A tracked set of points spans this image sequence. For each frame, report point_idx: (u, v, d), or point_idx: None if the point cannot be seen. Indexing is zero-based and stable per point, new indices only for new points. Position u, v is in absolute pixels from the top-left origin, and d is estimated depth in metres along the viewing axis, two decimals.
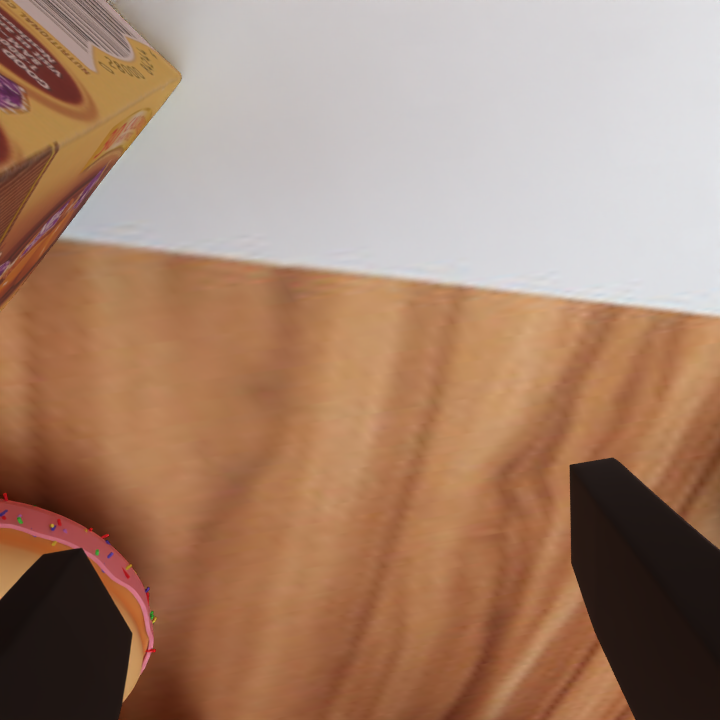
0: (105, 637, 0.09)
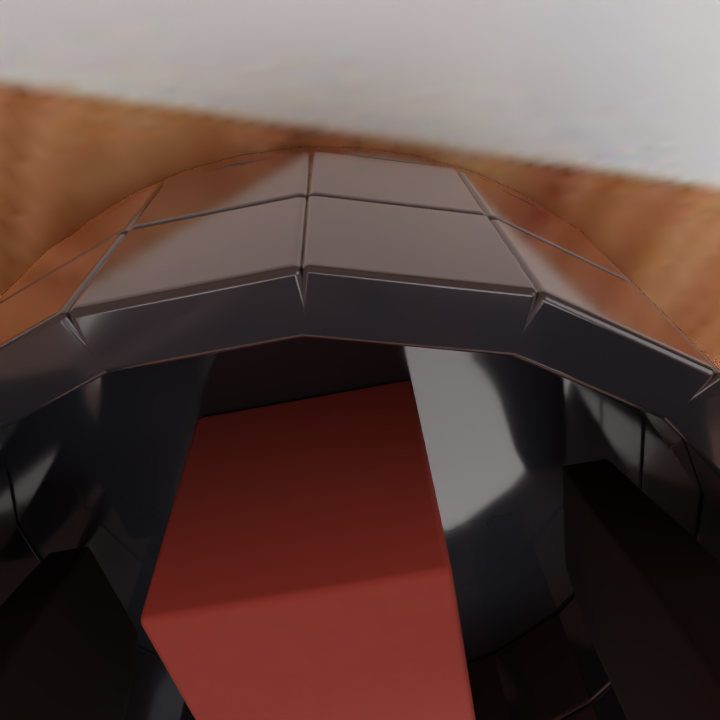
0: (112, 636, 0.09)
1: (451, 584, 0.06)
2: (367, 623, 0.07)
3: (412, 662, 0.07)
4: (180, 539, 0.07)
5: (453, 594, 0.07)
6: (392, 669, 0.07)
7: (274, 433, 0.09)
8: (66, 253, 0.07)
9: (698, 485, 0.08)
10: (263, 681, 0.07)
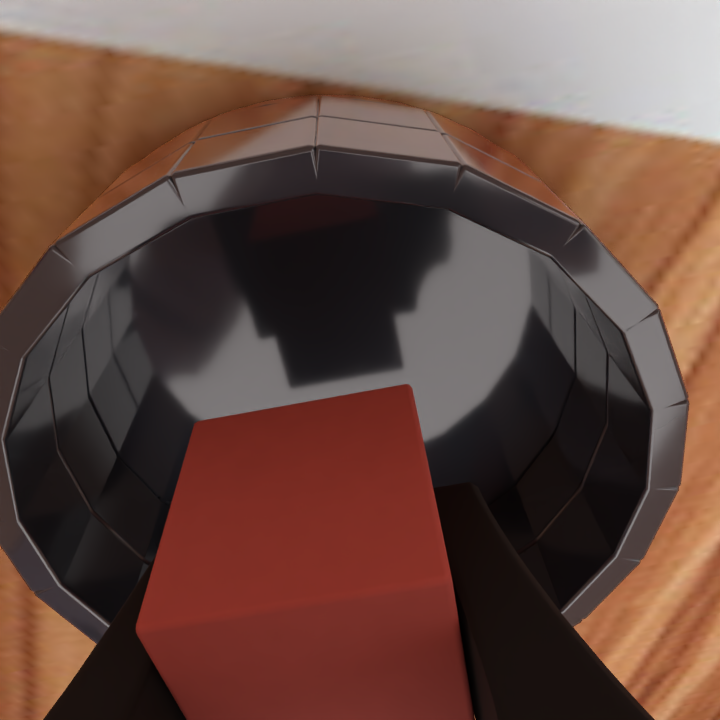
0: None
1: (451, 593, 0.06)
2: (365, 632, 0.07)
3: (412, 670, 0.07)
4: (176, 546, 0.07)
5: (453, 603, 0.06)
6: (390, 677, 0.07)
7: (272, 437, 0.09)
8: (146, 163, 0.10)
9: (606, 348, 0.11)
10: (261, 689, 0.07)
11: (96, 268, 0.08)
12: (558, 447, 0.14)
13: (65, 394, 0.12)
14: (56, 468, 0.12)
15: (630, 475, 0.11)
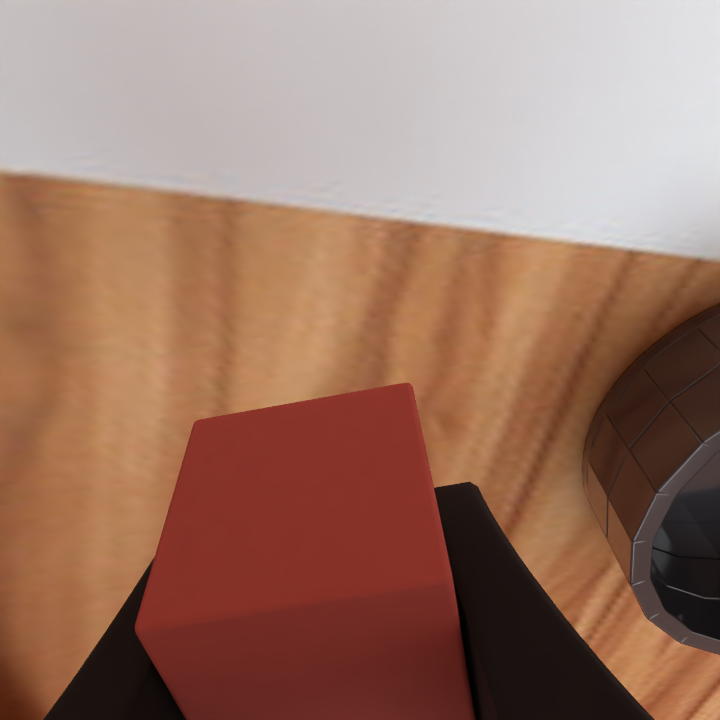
0: None
1: (452, 592, 0.06)
2: (365, 631, 0.06)
3: (412, 670, 0.07)
4: (176, 545, 0.07)
5: (454, 602, 0.06)
6: (391, 677, 0.07)
7: (272, 436, 0.09)
8: None
9: None
10: (262, 688, 0.07)
11: None
12: None
13: None
14: None
15: None
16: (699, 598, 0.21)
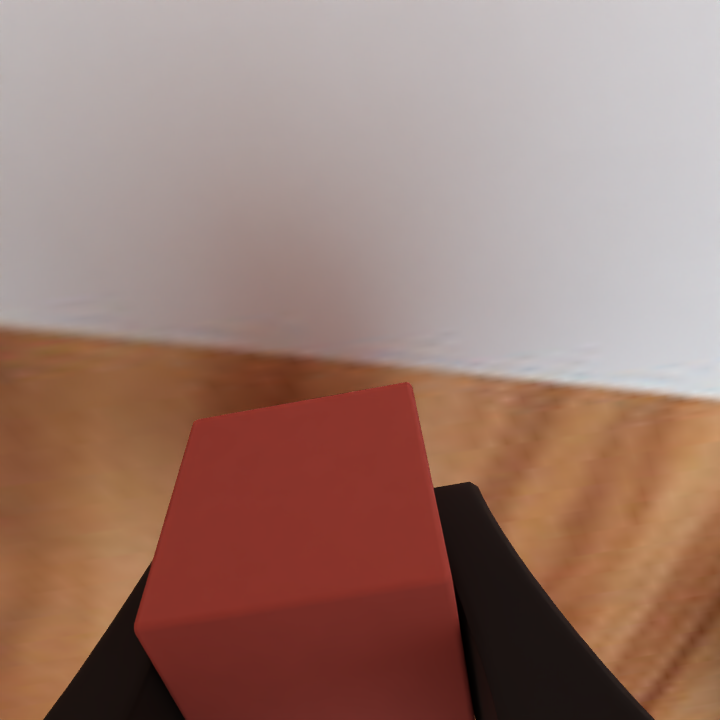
0: None
1: (451, 592, 0.06)
2: (364, 632, 0.06)
3: (412, 669, 0.07)
4: (175, 544, 0.07)
5: (453, 602, 0.06)
6: (389, 677, 0.07)
7: (271, 435, 0.09)
8: None
9: None
10: (260, 688, 0.07)
11: None
12: None
13: None
14: None
15: None
16: None
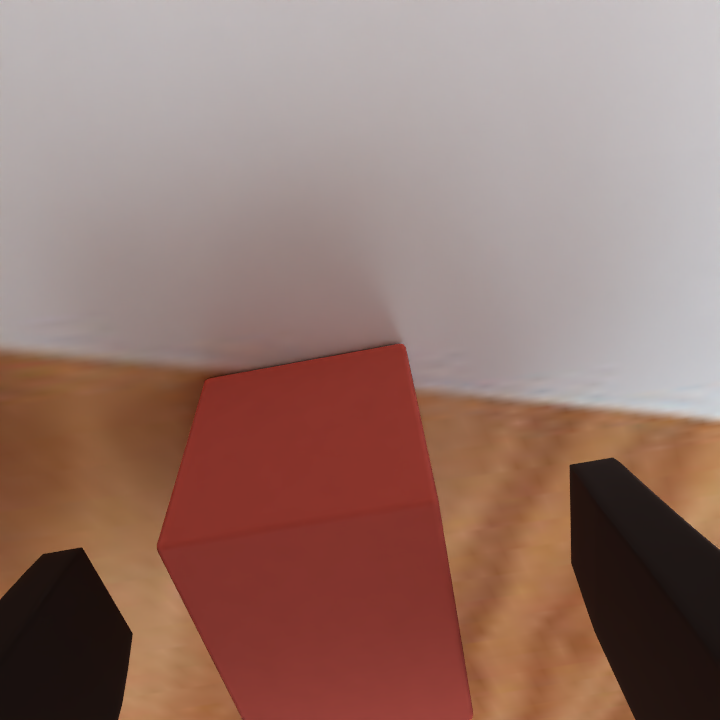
0: (105, 637, 0.09)
1: (437, 514, 0.07)
2: (362, 552, 0.07)
3: (404, 589, 0.08)
4: (191, 480, 0.08)
5: (439, 524, 0.07)
6: (385, 596, 0.08)
7: (277, 390, 0.09)
8: None
9: None
10: (268, 607, 0.08)
11: None
12: None
13: None
14: None
15: None
16: None
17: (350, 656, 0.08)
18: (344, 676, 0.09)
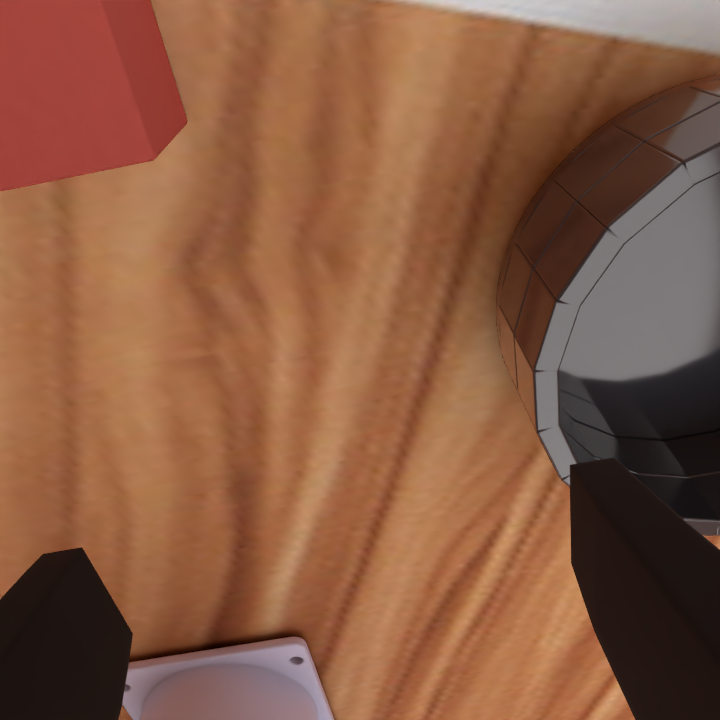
0: (105, 637, 0.09)
1: None
2: None
3: None
4: None
5: None
6: None
7: None
8: (666, 116, 0.14)
9: None
10: None
11: (704, 178, 0.12)
12: None
13: None
14: None
15: None
16: None
17: (38, 66, 0.11)
18: (39, 91, 0.12)
